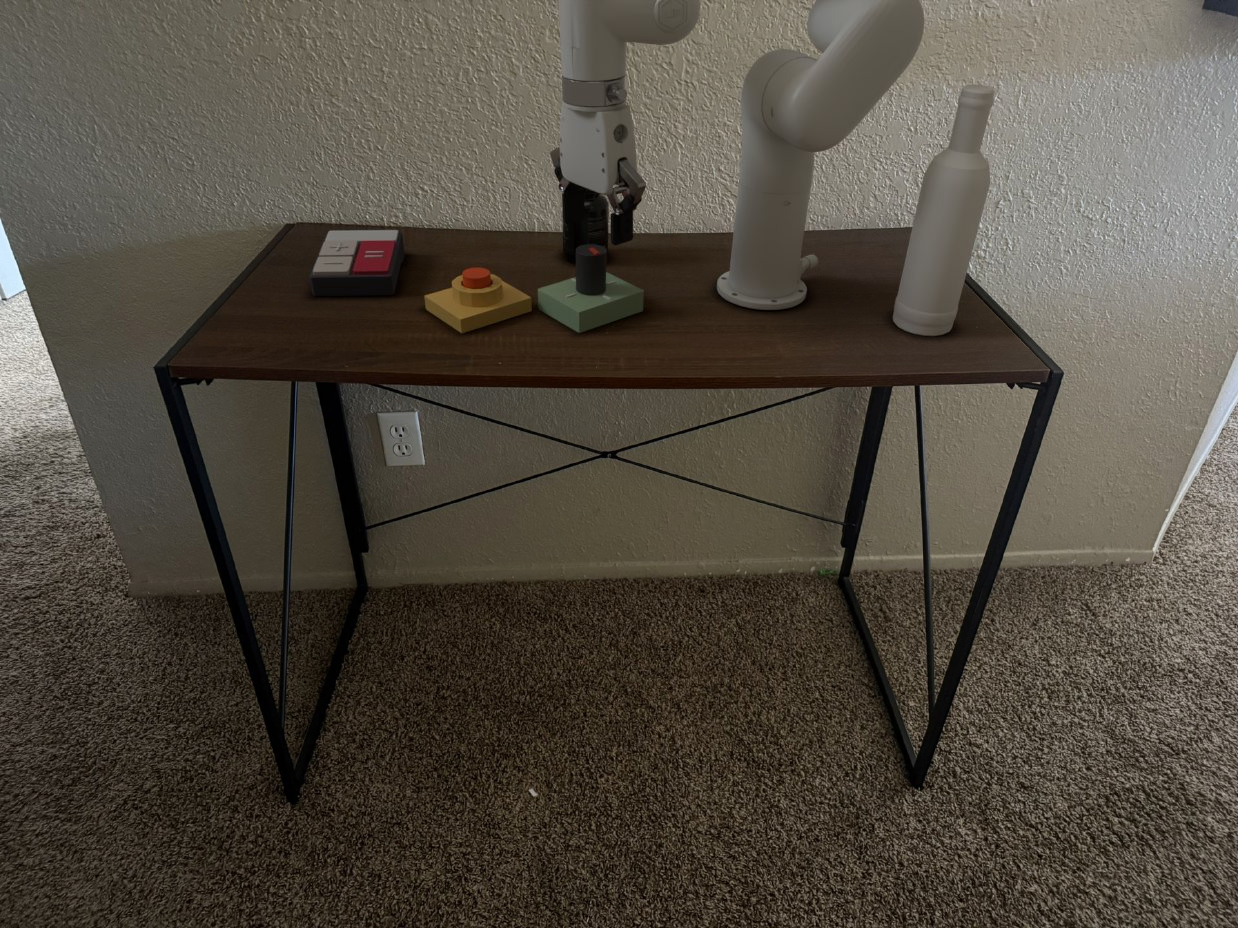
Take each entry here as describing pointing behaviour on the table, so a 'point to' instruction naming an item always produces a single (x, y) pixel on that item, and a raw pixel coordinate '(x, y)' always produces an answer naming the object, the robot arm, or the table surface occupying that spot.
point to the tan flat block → (477, 304)
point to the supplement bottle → (587, 226)
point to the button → (476, 278)
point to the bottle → (946, 222)
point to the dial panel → (590, 303)
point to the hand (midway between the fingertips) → (597, 231)
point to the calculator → (358, 263)
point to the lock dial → (591, 269)
